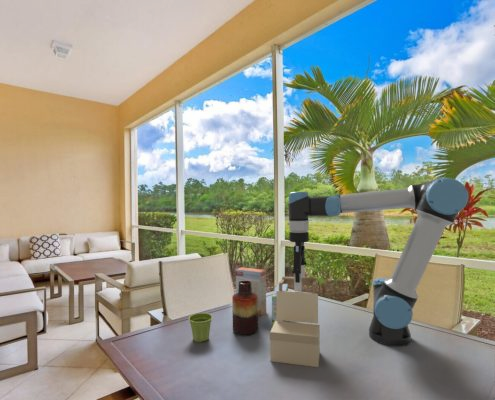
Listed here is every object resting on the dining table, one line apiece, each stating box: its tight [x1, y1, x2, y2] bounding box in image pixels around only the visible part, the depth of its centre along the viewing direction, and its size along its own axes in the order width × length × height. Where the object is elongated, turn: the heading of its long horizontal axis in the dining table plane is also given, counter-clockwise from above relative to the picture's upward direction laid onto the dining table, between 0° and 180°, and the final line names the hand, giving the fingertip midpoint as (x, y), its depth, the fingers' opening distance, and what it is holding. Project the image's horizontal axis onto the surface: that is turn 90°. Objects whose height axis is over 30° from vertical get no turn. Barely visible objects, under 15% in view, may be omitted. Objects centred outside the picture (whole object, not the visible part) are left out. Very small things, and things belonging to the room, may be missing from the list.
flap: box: [276, 276, 319, 325], centre depth 120 cm, size 15×14×9 cm
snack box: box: [271, 283, 289, 328], centre depth 141 cm, size 21×6×15 cm, turn 168°
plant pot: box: [188, 312, 214, 343], centre depth 126 cm, size 9×9×9 cm
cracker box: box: [235, 266, 267, 317], centre depth 155 cm, size 14×6×21 cm, turn 58°
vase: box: [231, 281, 259, 337], centre depth 134 cm, size 11×11×20 cm
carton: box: [269, 321, 321, 368], centre depth 111 cm, size 16×10×10 cm, turn 75°
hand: (299, 285), depth 124 cm, fingers open, 13 cm apart
